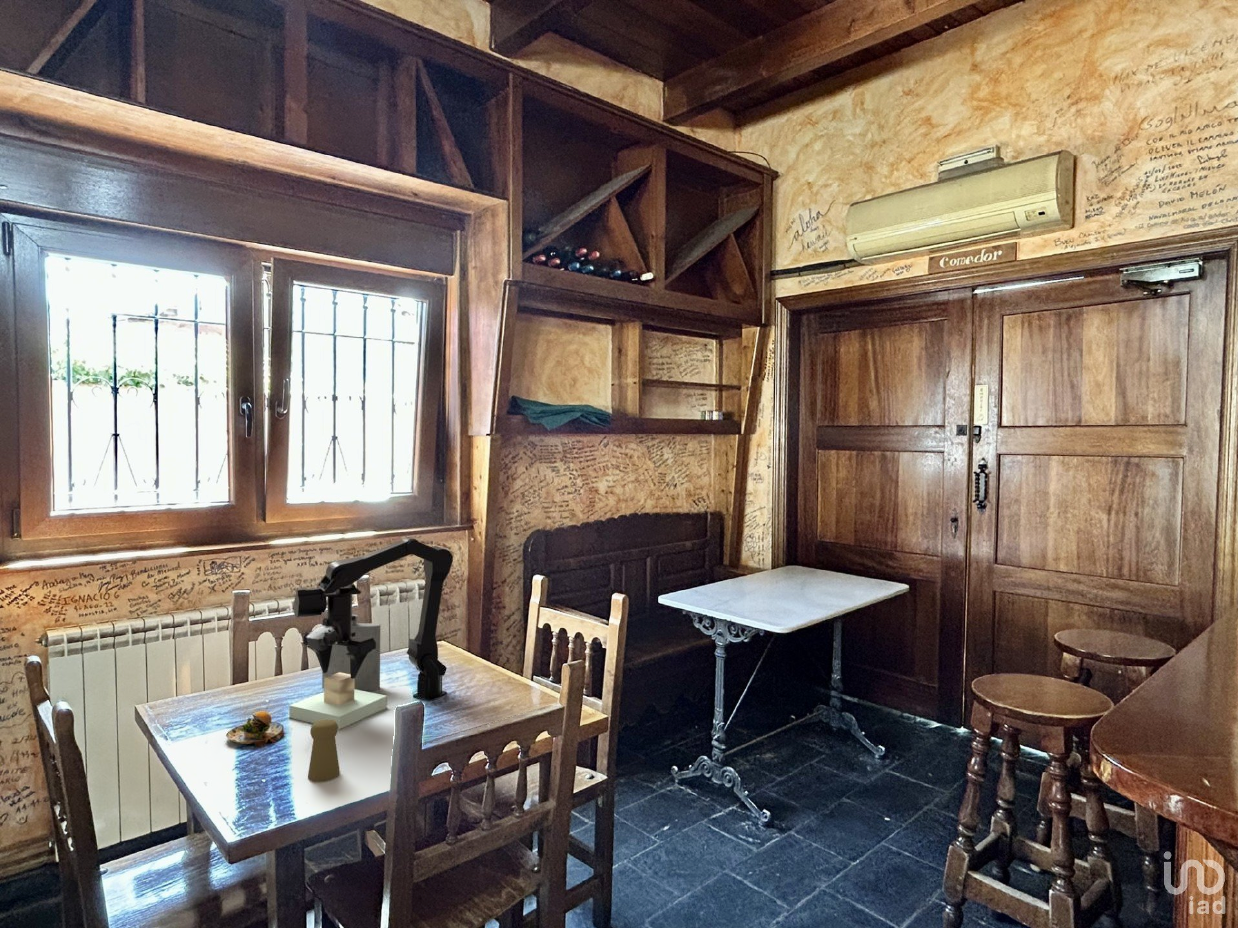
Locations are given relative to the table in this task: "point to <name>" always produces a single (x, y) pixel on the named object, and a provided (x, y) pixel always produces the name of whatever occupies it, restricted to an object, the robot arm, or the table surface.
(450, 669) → the table surface
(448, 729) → the table surface
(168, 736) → the table surface
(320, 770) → the cork
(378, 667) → the hip flask
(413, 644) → the robot arm
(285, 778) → the table surface
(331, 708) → the plinth
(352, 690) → the birch block
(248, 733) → the burger
